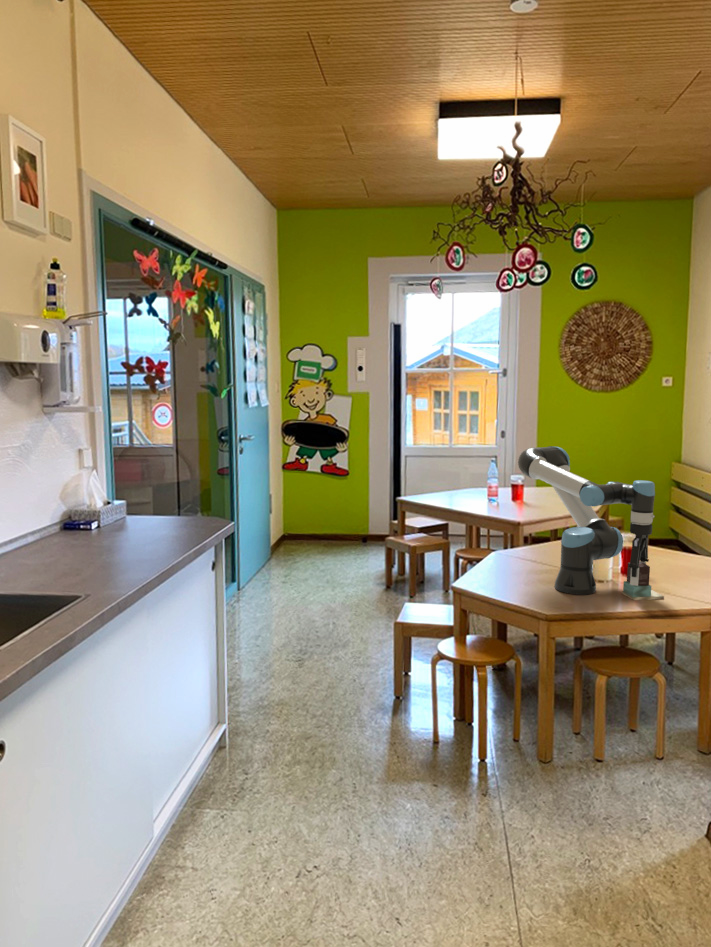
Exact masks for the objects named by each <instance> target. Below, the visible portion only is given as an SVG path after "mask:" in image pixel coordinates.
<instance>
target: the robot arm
mask: <svg viewBox="0 0 711 947" xmlns="http://www.w3.org/2000/svg"><path fill="white" fill-rule="evenodd" d="M517 460H518V461H517V465H518V469H519V471H520V472H521V473H522V474H523V475H525V476H527V477H528V478H530V479H532V480H540V481H542V482H545V483H546V484H549V485H550V486H551V487H552V488H553V490H554V491H555V492H556V495H558V497H559V499H560V501H561V502H562V504H563V505H564V507H565V508H566V510H567V511H568V513H569V515H570V517H572V519H573V521H574V522H575V523H576V525H577V526H575V527H574V526H573V527H570V528H567V529H565V530H564V531H563V532H562V536H561V540H560V542H561V544H560V545H561V546H560V547H561V548H560V568H559V571H558V574H557V575H556V577H555V581H554V588H555V590H557V591H559V592H561V593H565V594H571V595H577V596H578V595H579V596H580V595H581V596H582V595H591V594H595V592H596V591H597V585H596V581H595V580H596V579H595V577H594V572H593V564H594V563H593V561H598V560H607V559H611V558H615V557H616V556H618V555H620V553H621V552H622V550H623V547H624V546H623V544H624V537H623V534H622V533H621V531H620V530H619V529H618V528H617V527H613V526H610V525H609V524H608V522H607V521H606V519H604V518H600V517H599V516H598V514H597V512H595V510H594V508H593V507H598V506H606V505H614V504H622V505H623V504H624V505H631V509H630V526H629V532H630V533H631V534H633V535H635V536H634V537H635V538H633V539H632V541H631V543H632V544H631V545H632V546H631V552H630V559H629V560H630V561H629V563H630V565H629V567H630V568H631V575H630V585H635V586H638V579H639V563H645V564H646V565H647V563H649V560H650V559H648V558H649V536H650V535H652V533H653V524H652V523H653V520H654V518H655V515H654V505H655V504H654V503H655V496H656V491H655V490H656V489H655V488H656V486H655V485H656V484H655V482H653V481H650V480H641V479H640V480H639V479H638V480H634V481H633V483H632V484H629V483H624V482H619V481H608V482H607V483H606V484H597V483H596V482H593V481H591V480H588V479H587V478H585V477H582V476H580V475H578V474H575V473H573V472H570V470H571V467H570V466H571V462H570V461H571V460H570V455H569V454H568V453H567V451H566V450H565V449H563V448H562V447H559V446H550V445H549V446H546V447H545V446H544V447H530V448H527V449H525V450H523V451H522V452H521V453H520V455H519V457H518V459H517Z"/></svg>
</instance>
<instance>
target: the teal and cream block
mask: <svg viewBox="0 0 711 947" xmlns="http://www.w3.org/2000/svg"><path fill="white" fill-rule="evenodd" d="M622 586H623V587H622V589H623V590H622V591H621V594H622V595H624V596H625V597H628V598H629V599H631V600H633V601H644V600H645V601H649V600H664V599H665V596H664V595H663V594H660V593H658V592H656V591H654V590H653V589H652V585H650V584H649V585H638V586H633V585H630V583H629V582H627V580H624V581H623V585H622Z"/></svg>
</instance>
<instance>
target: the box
mask: <svg viewBox="0 0 711 947" xmlns="http://www.w3.org/2000/svg"><path fill="white" fill-rule="evenodd" d="M629 565H630V562H627V572H626V581H627V582H629V583H630V575H631V568H630V567H629ZM650 572H651V566H650V565H648V564H647V563H646V564H645V563H639V579H638V585H650ZM633 586H635V585H633Z"/></svg>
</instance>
